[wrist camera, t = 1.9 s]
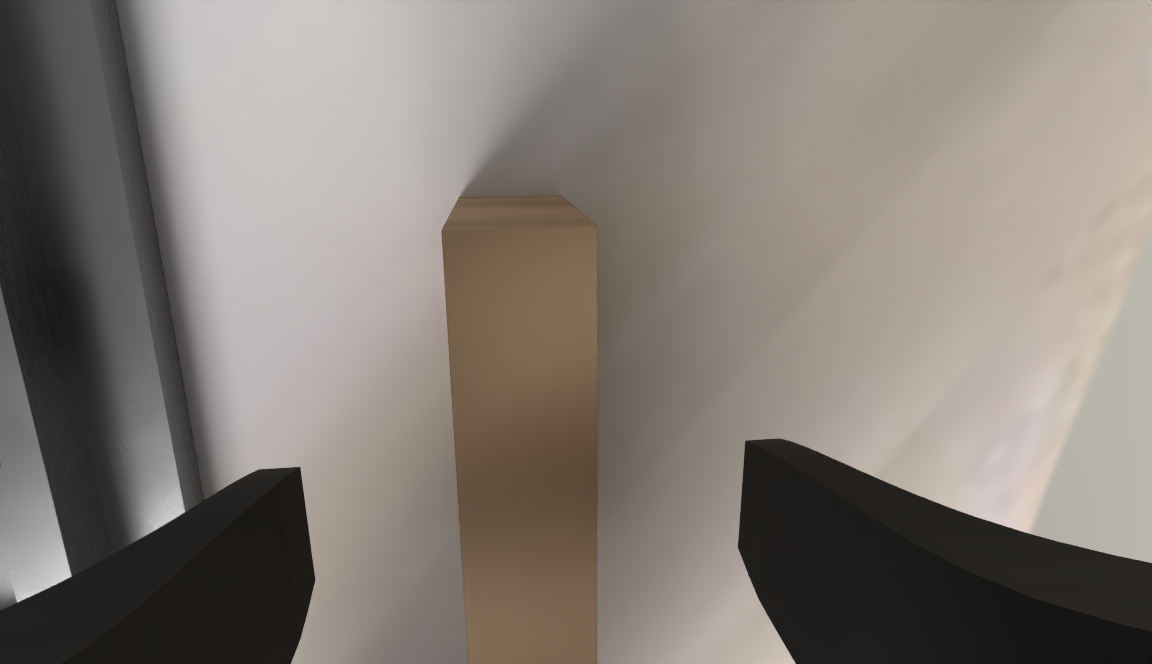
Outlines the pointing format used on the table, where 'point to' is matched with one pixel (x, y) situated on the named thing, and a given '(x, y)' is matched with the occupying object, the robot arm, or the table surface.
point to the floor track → (80, 307)
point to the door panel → (525, 425)
